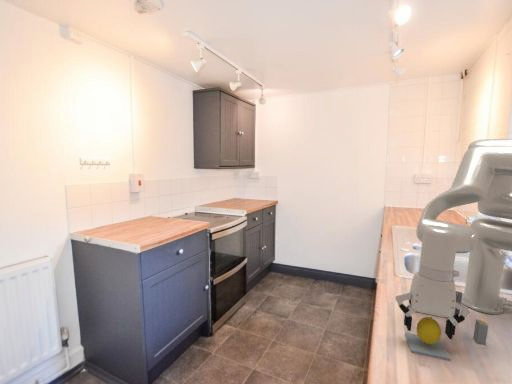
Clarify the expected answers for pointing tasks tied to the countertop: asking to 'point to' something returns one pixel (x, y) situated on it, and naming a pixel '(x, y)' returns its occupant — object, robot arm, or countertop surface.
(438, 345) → the mat
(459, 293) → the gatepost
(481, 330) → the post
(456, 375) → the countertop surface
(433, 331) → the lemon
